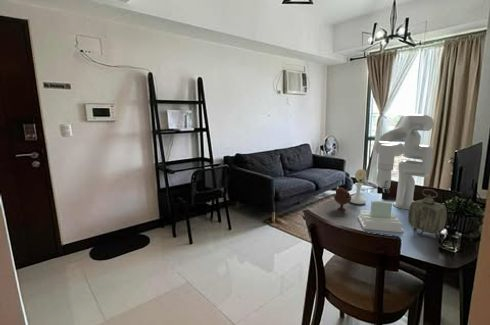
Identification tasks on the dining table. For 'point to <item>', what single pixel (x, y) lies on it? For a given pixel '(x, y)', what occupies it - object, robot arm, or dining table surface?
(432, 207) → the tabletop clock
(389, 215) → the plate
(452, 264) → the dining table surface
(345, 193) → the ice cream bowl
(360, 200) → the flower in vase
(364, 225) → the dish rack
